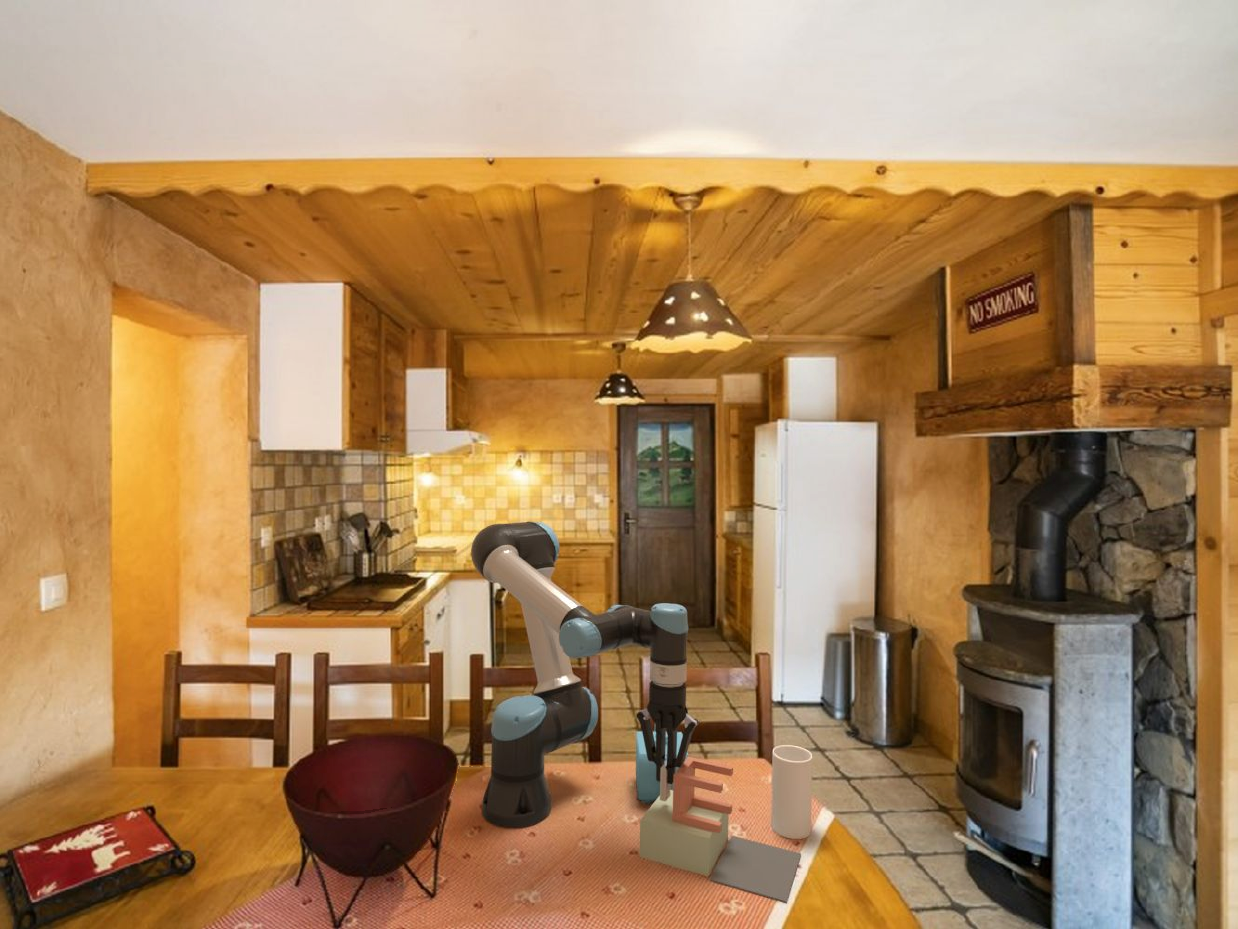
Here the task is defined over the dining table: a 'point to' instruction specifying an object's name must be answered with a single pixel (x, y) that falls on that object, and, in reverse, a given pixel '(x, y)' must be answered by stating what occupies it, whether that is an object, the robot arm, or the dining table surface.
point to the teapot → (649, 769)
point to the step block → (681, 838)
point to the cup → (791, 791)
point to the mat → (757, 868)
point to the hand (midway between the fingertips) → (665, 797)
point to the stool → (686, 798)
